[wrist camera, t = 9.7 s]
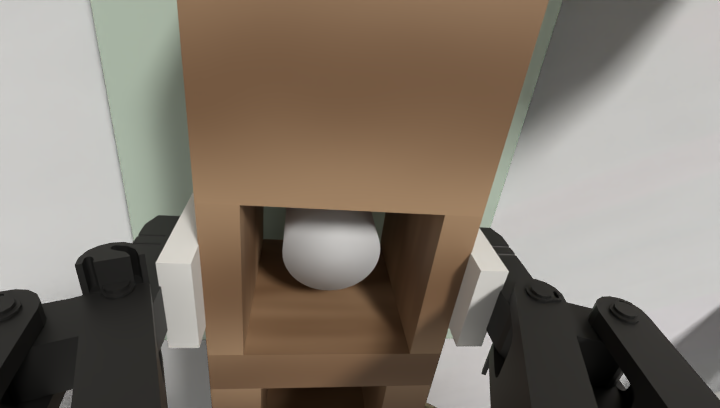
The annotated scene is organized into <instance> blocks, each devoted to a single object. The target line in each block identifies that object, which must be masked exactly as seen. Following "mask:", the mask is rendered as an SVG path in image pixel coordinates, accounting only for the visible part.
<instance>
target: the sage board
mask: <svg viewBox="0 0 720 408" xmlns="http://www.w3.org/2000/svg"><path fill="white" fill-rule="evenodd" d="M562 1H563V0H549V2H548V5H547V9H546V12H545V15H544V18H543V22H542V25H541V28H540V31H539V35H538V38H537V41H536V44H535V48H534V51H533V54H532V58H531V61H530V64H529V67H528V71H527V74H526V77H525V80H524V84H523V87H522V90H521V93H520V97H519V100H518V103H517V106H516V110H515V113H514V116H513V120H512V123H511V126H510V129H509V133H508V136H507V139H506V142H505V146H504V149H503V152H502V155H501V159H500V162H499V165H498V169H497V172H496V175H495V178H494V182H493V185H492V188H491V191H490V195H489V198H488V201H487V204H486V208H485V211H484V214H483V218H482V221H481V224H480V227H485V228H490V227H491V224H492V221H493V217H494V214H495V211H496V208H497V205H498V202H499V199H500V196H501V192H502V189H503V186H504V183H505V180H506V177H507V174H508V170H509V167H510V164H511V161H512V158H513V155H514V152H515V149H516V145H517V142H518V139H519V136H520V133H521V130H522V127H523V123H524V120H525V117H526V114H527V111H528V108H529V105H530V102H531V98H532V95H533V92H534V89H535V86H536V83H537V80H538V76H539V73H540V70H541V67H542V64H543V61H544V58H545V55H546V51H547V48H548V45H549V42H550V39H551V36H552V33H553V29H554V26H555V23H556V20H557V17H558V14H559V11H560V8H561V4H562ZM90 2H91V8H92V13H93V19H94V24H95V30H96V35H97V41H98V46H99V52H100V57H101V63H102V68H103V74H104V79H105V85H106V90H107V96H108V102H109V107H110V113H111V118H112V124H113V129H114V135H115V140H116V146H117V151H118V157H119V162H120V168H121V173H122V179H123V184H124V190H125V195H126V201H127V206H128V212H129V217H130V223H131V228H132V234H133V239H134V240H135V239H136V237H137V236H138V234H139V232H140V231H141V229H142V228H143V226H144V225H145V224H146V223H147V222H149V221H150V220H152V219H153V218H155V217H156V216H158V215H167V216H181V214H182V212H183V210H184V208H185V206H186V205H187V203H188V201H189V199H190V197H191V195H192V193H193V182H192V171H191V159H190V148H189V136H188V125H187V113H186V102H185V90H184V79H183V67H182V56H181V44H180V33H179V21H178V10H177V0H90ZM384 218H385V212H371V211H350V210H329V209H309V208H288V207H267V206H264V214H263V239H278V240H283V250H282V254H283V261H284V264H285V266H286V268H287V270H288V271H289V273H290V274H291V275H292V276H293V277H294V278H295V279H296V280H297V281H299V282H300V283H302V284H304V285H306V286H308V287H311V288H314V289H319V290H339V289H344V288H347V287H350V286H353V285H355V284H357V283H359V282H360V281H362V280H363V279H364V278H366V277H367V276H368V275H369V274H370V273H371V272H372V270H373V269H374V268H375V266H376V264H377V262H378V259H379V255H380V241H381V236H382V230H383V224H384ZM445 339H453V336H452V334H451V331H450V329H448V332H447V335H446V338H445ZM164 340H167V334H166V336H165V338H164ZM202 340H206V332H205V331H204V334H203V338H202Z"/></svg>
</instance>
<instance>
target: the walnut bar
mask: <svg viewBox="0 0 720 408" xmlns="http://www.w3.org/2000/svg"><path fill="white" fill-rule="evenodd" d="M548 2H549V0H177V10H178V21H179V33H180V44H181V56H182V67H183V79H184V90H185V102H186V113H187V125H188V136H189V148H190V159H191V171H192V182H193V194H194V206H195V217H196V229H197V240H198V245H199V254H200V265H201V276H202V287H203V299H204V310H205V321H206V328H205V332H206V344H207V355H208V367H209V378H210V390H211V401H212V408H424V407H425V404H426V400H427V397H428V394H429V391H430V387H431V384H432V381H433V378H434V374H435V371H436V368H437V364H438V361H439V358H440V355H441V351H442V348H443V345H444V342H445V338H446V335H447V332H448V329H449V323H450V320H451V317H452V313H453V310H454V307H455V303H456V300H457V297H458V294H459V290H460V287H461V284H462V280H463V277H464V274H465V270H466V267H467V264H468V260H469V257H470V254H471V253H472V250H473V247H474V244H475V240H476V237H477V234H478V231H479V227H480V224H481V221H482V218H483V214H484V211H485V208H486V204H487V201H488V198H489V195H490V191H491V188H492V185H493V182H494V178H495V175H496V172H497V169H498V165H499V162H500V159H501V155H502V152H503V149H504V146H505V142H506V139H507V136H508V133H509V129H510V126H511V123H512V120H513V116H514V113H515V110H516V106H517V103H518V100H519V97H520V93H521V90H522V87H523V84H524V80H525V77H526V74H527V71H528V67H529V64H530V61H531V58H532V54H533V51H534V48H535V44H536V41H537V38H538V35H539V31H540V28H541V25H542V22H543V18H544V15H545V12H546V9H547V5H548ZM264 206H267V207H288V208H309V209H329V210H350V211H371V212H385V218H384V224H383V230H382V236H381V241H380V255H379V259H378V262H377V264H376V266H375V268H374V269H373V270H372V272H371V273H370V274H369V275H368V276H367V277H366V278H364V279H363V280H362V281H360V282H359V283H357V284H355V285H353V286H350V287H347V288H344V289H339V290H319V289H314V288H311V287H308V286H306V285H304V284H302V283H300V282H299V281H297V280H296V279H295V278H294V277H293V276H292V275H291V274H290V273H289V271H288V270H287V268H286V266H285V264H284V261H283V254H282V250H283V240H278V239H263V214H264Z"/></svg>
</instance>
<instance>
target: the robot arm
mask: <svg viewBox="0 0 720 408" xmlns="http://www.w3.org/2000/svg"><path fill="white" fill-rule="evenodd" d="M75 268H76V271H77V275H78V279H79V282H80V286H81V290H82V293H83V295H82V296H79V297H75V298H71V299H66V300H60V301H55V302H50V303H44V304H41V301H40V299H39V297H38V295H37V294H36V293H34V292H32V291H29V290H19V289H14V290H8V291H1V292H0V408H59V406H60V404H61V402H62V399H63V397H64V395H65V392H66V391H67V390H71V389H73V395H72V404H71V408H168V406H167V396H166V387H165V377H164V368H163V359H162V353H161V346H162V343H163V341H164V338H165V336H166V334H167V341H168V347H169V348H200V345H201V341H202V338H203V334H204V331H205V328H206V321H205V310H204V299H203V287H202V276H201V265H200V254H199V245H198V240H197V229H196V217H195V206H194V194H193V193H192V195H191V197H190V199H189V201H188V203H187V205H186V206H185V208H184V210H183V212H182V214H181V216H167V215H158V216H156V217H155V218H153V219H152V220H150V221H149V222H147V223H146V224H145V225H144V226H143V228H142V229H141V231H140V232H139V234H138V236H137V237H136V239H135V240H134V242H133V244H132V243H126V242H117V243H108V244H104V245H100V246H97V247H95V248H93V249H90V250H88V251H86V252H85V253H84V254H83V255H81V256H80V257H79V258H78V260H77V262H76V264H75ZM449 329H450V331H451V334H452V336H453V339H454V341H455V344H456V346H482V343H483V340H484V338H485V335H486V332H488V334H489V336H490V338H491V340H492V342H493V343H492V346H491V349H490V351H489V354H488V356H487V359H486V362H485V364H484V367H483V370H482V374H484V375H486V373H487V370H488V368H489V376H490V400H491V408H720V400H719V399H718V398H717V397H716V395H715V394H714V393H713V392H712V391H711V389H710V388H709V387H708V386H707V385H706V384H705V382H704V381H703V380H702V379H701V378H700V377H699V375H698V374H697V373H696V372H695V371H694V370H693V368H692V367H691V366H690V365H689V364H688V363H687V361H686V360H685V359H684V358H683V357H682V355H681V354H680V353H679V352H678V351H677V350H676V348H675V347H674V346H673V345H672V344H671V343H670V341H669V340H668V339H667V338H666V337H665V336H664V334H663V333H662V332H661V331H660V330H659V328H658V327H657V326H656V325H655V324H654V323H653V321H652V320H651V319H650V318H649V317H648V316H647V315H646V314H645V313H644V312H643V311H642V310H641V309H639V308H638V307H636V306H635V305H633V304H632V303H630V302H628V301H625V300H623V299H620V298H615V297H610V296H608V297H601V298H599V299H597V301H596V303H595V305H594V307H593V309H592V308H588V307H583V306H579V305H575V304H571V303H567V302H566V300H565V299H564V297H563V295H562V294H561V293H560V292H559V291H558V290H557V289H556V288H554V287H553V286H551V285H549V284H547V283H545V282H543V281H540V280H537V279H533V278H532V277H531V275H530V274H529V273H528V271H527V270H526V268H525V267H524V266H523V264H522V263H521V262H520V260H519V259H518V258H517V256H515V255H514V252H513V251H512V250H511V248H509V245H508V244H507V243H506V241H505V240H504V239H503V237H502V236H501V235H499V234H498V233H496V232H495V231H494V230H492V229H491V228H485V227H479V231H478V234H477V237H476V240H475V244H474V247H473V250H472V253H471V254H470V257H469V260H468V264H467V267H466V270H465V274H464V277H463V280H462V284H461V287H460V290H459V294H458V297H457V300H456V303H455V307H454V310H453V313H452V317H451V320H450V323H449ZM623 373H624V375H625V376H626V378H627V379H628V381H629V382H630V386H629V387H628V389H625V387H624V386H623V385H622V383H621V382H620V380H619V379H620V378H621V376H622V375H623Z"/></svg>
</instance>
